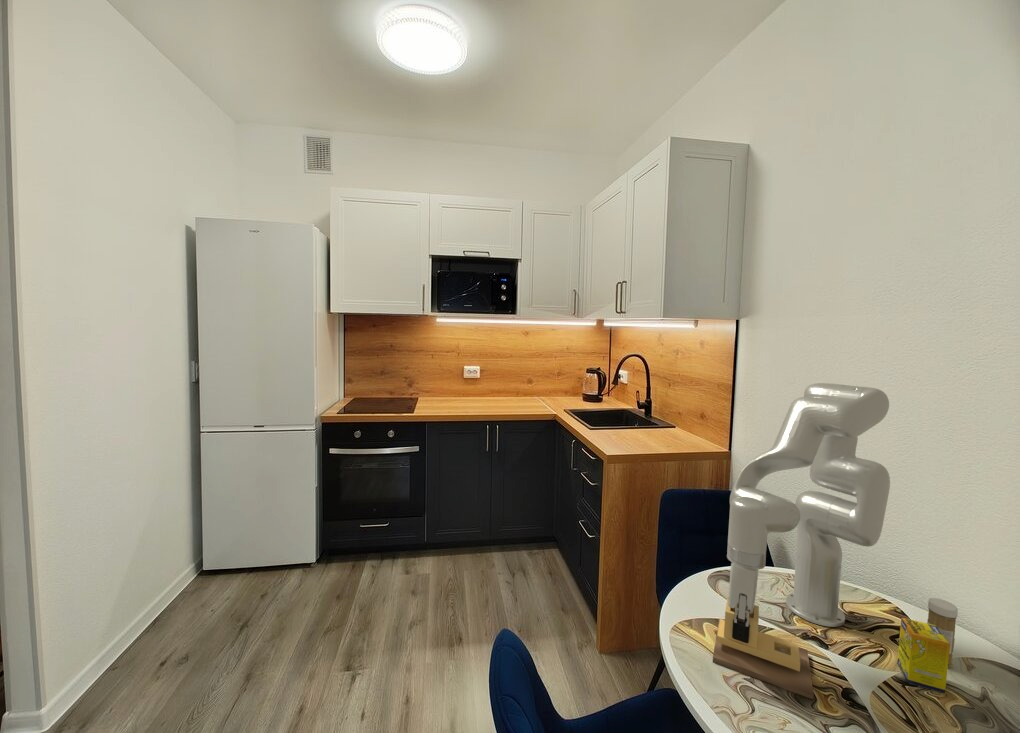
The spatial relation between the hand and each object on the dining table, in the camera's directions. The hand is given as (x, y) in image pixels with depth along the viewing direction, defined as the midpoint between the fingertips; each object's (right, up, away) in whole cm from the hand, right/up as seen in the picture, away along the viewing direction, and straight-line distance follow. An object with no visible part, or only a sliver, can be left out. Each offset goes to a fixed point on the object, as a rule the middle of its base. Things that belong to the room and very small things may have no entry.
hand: (741, 630), depth 96 cm
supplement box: (+34, -7, -6) cm, 36 cm away
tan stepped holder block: (+3, -3, -2) cm, 4 cm away
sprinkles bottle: (+43, -6, -1) cm, 44 cm away
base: (+3, -5, -2) cm, 6 cm away
